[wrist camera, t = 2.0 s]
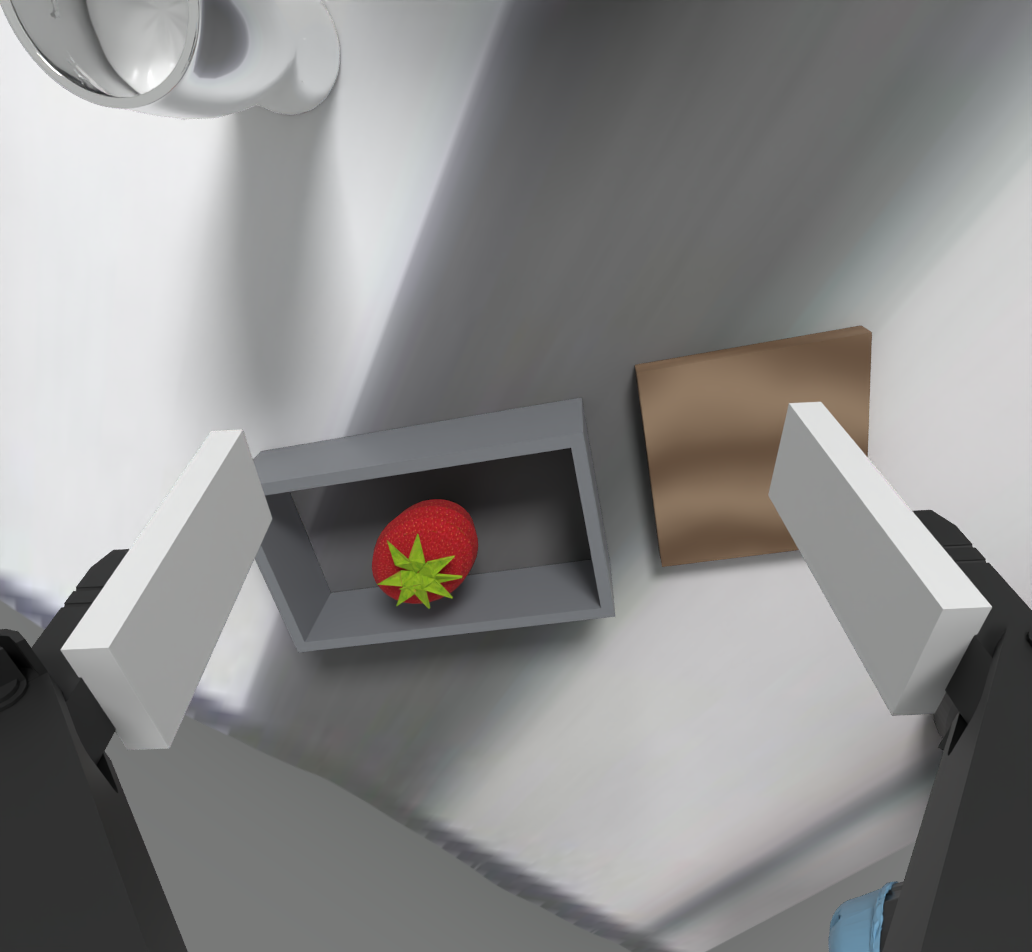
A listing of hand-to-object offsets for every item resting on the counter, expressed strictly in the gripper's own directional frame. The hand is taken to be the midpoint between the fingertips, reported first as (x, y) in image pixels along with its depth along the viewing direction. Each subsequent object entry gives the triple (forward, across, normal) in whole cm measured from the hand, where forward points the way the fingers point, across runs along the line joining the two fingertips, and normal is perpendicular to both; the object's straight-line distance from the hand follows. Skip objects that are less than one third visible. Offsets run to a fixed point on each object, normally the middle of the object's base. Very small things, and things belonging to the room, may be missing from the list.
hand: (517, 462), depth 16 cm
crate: (+23, +6, +19) cm, 30 cm away
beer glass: (+27, +11, -8) cm, 30 cm away
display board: (+21, -15, +14) cm, 30 cm away
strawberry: (+23, +6, +19) cm, 30 cm away
